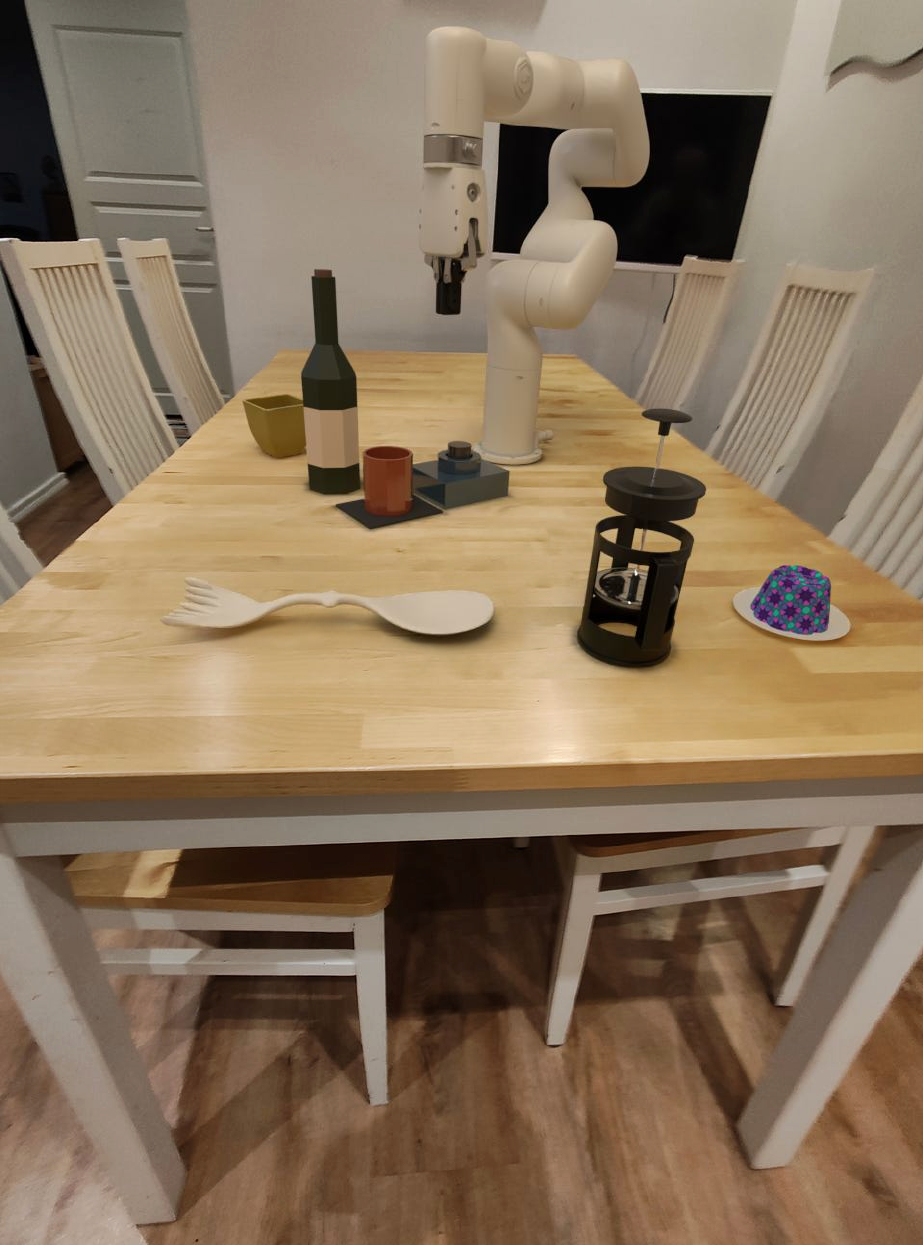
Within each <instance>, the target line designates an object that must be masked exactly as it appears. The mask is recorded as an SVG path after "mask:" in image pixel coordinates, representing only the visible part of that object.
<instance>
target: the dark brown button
mask: <svg viewBox="0 0 923 1245" xmlns="http://www.w3.org/2000/svg"><path fill="white" fill-rule="evenodd" d="M472 446H473V444H472V443H471V442H468V441H466V440H465V441H463V440H452V441H448V443H447V450H448V452H447V457H449V458H453V459H468V458H471V451H473V447H472Z"/></svg>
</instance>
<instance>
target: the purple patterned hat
mask: <svg viewBox="0 0 923 1245" xmlns="http://www.w3.org/2000/svg"><path fill="white" fill-rule="evenodd" d="M831 597H832V583H831V580H830V579H829V577H827V575H824V574H823V573H822V572H821V571H818V570H816V569H815V568H808V567H806V566H803V565H797V564H796V565H790V564H783V565H781V566H778V567H777V568H774V569H773V570H772V571H771V572H770V573H769V574H768V576H767V578H766V579H765V581H764V582H763V584H762V586H755V587H754V586H753V587H748V588H745V589H742V590H739V591H738V592H736V593H735V595H734V596H733V600H732V603H733V607H734V609H735V610H736V611H737V613H738V614H740V616H742V617H743V618H744V619H745V620H747V621H748V622H750V623H751V624H753V625H755V626H757V627H759V628H761V629H763V630H766V631H768V632H771V633H774V634H777V635H780V636H783V637H789V638H791V639H798V640H805V641H830V640H831V641H832V640H837V639H840V638H842V637H844V636H846V635H847V634H849V632H850V630H851V622H850V619H849V618H848V616H847V615H846V614H845V613H844V612H843V611H842V610H841V609H839V608H838V607H837V606H835V605H833V604H832V603H831V599H832V598H831Z"/></svg>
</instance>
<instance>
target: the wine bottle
mask: <svg viewBox="0 0 923 1245" xmlns="http://www.w3.org/2000/svg"><path fill="white" fill-rule="evenodd" d="M313 273H314V275H311V276H310V278H311V291H312V292H311V294H312V295H311V296H312V309H313V325H314V339H315V343H314V345H313V346H312V349H311V351H310V353H309V355H308V357H307V359H306V361H305V363H304V366H303V368H302V370H301V373H300V381H301V382H300V383H301V393H302V394H301V396H302V399H303V409H304V422H305V435H306V446H305V448H306V460H307V472H308V474H307V475H308V487H309V491H311V492H315V493H317V494H320V495H324V496H329V495H330V496H331V495H333V496H334V495H348V494H351V493H353V492H357V491H359V490H361V471H360V470H361V467H360V466H361V465H360V441H359V440H360V439H359V413H358V411H359V408H358V385H357V384H358V383H357V382H358V380H357V374H356V372H355V370H354V368H353V366H352V364H351V363H350V360H349V359H348V357H347V356H346V354H345V352H344V350H343V349H342V347H341V345H340V343H339V326H338V324H339V323H338V304H337V303H338V302H337V285H336V284H337V282H336V276H333V270H332V269H327V268H325V269H324V268H315V269H313Z"/></svg>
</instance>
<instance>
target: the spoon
mask: <svg viewBox="0 0 923 1245" xmlns="http://www.w3.org/2000/svg"><path fill="white" fill-rule="evenodd" d="M184 582H185V584H187V585H188V586H186V587H184V588H183V589H184V590H185V591H186V592H187V593H183V594H182V595H181V596H182V597H183V598H184V599H186V600H188V601H190V602H186V601H184V602H179V606H180V607H181V608H183V609H181V608H176V609H175V608H174V609H173V610H172V612H170V613H167V615H165V616H160V617H159V621H160V623H162V624H163V625H165V626H168V627H173V628H209V629H210V628H211V629H230V628H238V627H242V626H246V625H249V624H251V623H254V622H257V621H259V620H260V619H263V618H265V617H266V616H267V617H268V616H269V615H271V614H273V613H275V612H277V611H280V610H282V609H285V608H288V607H292V606H300V605H313V606H314V605H317V606H322V607H325V608H326V609H327V608H328V609H332V608H335V607H337V606H340V605H349V606H356V607H360V608H362V609H366V610H368V611H370V612H372V613H373V614H376V615H377V616H378V617H381V618H382V619H384V620H386V621H387V622H389V623H390V624H392V625H395V626H396V627H397V628H401V629H404V630H405V631H409V632H411V633H415V634H423V635H431V636H448V635H456V634H461V633H466V632H469V631H473V630H475V629H478V628H480V627H483V626H484V625H486V624H488V623H489V622H490V621H491V620H492V619H493V617H494V615H495V613H496V606H495V602H494V600H493V599H492V598H491V597H490V596H489V595H487V594H485V593H483V592H479V591H473V590H462V589H461V590H460V589H449V590H447V589H446V590H432V591H431V590H430V591H429V590H428V591H415V592H408V593H401V594H395V595H393V594H392V595H387V596H386V595H385V596H378V597H377V596H375V597H374V596H365V595H358V594H351V593H341V592H338V591H337V590H335V589H333V590H332V589H330V590H327V591H323V592H303V593H301V592H300V593H292V594H288V595H285V596H281V597H279V598H276V599H273V600H270V601H265V602H261V601H258V600H255V599H253V598H251V597H249V596H247V595H245V594H243V593H240V592H237V591H233V590H229V589H226V588H223V587H221V586H218V585H216V584H213V583H211V582H209V581H206V580H203V579H201V578H198V577H193V576H189V577H186V578H185V579H184Z"/></svg>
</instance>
